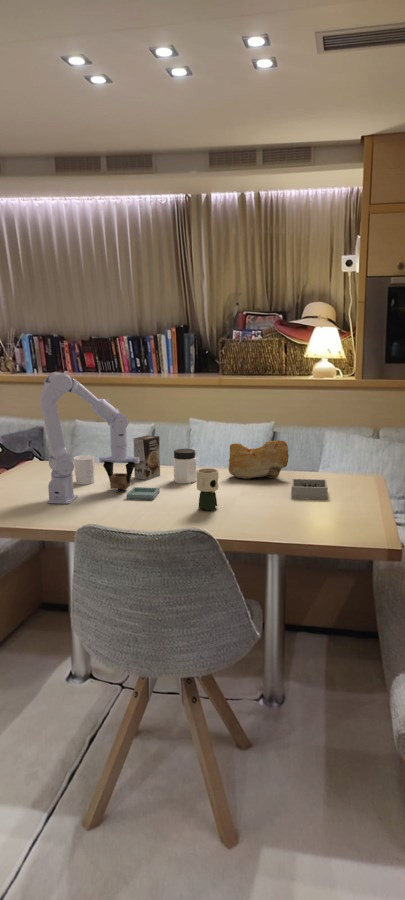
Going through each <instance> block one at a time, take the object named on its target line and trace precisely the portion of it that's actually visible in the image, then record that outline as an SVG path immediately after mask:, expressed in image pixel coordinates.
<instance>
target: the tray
mask: <svg viewBox="0 0 405 900" xmlns="http://www.w3.org/2000/svg"><path fill="white" fill-rule="evenodd" d="M160 493H161V491H160V487H147V486H146V487H143V486H142V487H138V486H136V487H135V486H133V487H132V488H131V489H130V490H129V491H128V492H127V493H126V500H133V501H136V500H137V501H139V500H140V501H154V500H155V499H156V498H157V497H158V496H159V494H160Z"/></svg>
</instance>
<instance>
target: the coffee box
mask: <svg viewBox="0 0 405 900" xmlns="http://www.w3.org/2000/svg"><path fill="white" fill-rule="evenodd" d="M160 447H161V446H160V436H158V435H149V434H147V435H142V436H138V437H135V438H133V457H139V460H140V462H139V463H138V464H135V466H134V469H133V472H134V479H138V480H144V481H148V480H151V479H154V478H156V477H160V476H161V459H160V458H161V457H160V456H161V455H160V451H161V450H160Z"/></svg>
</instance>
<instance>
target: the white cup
mask: <svg viewBox="0 0 405 900" xmlns="http://www.w3.org/2000/svg"><path fill="white" fill-rule="evenodd" d="M73 464H74V472H75V473H74V475H75V481H76V484H77V485H81V486H82V485H83V486H86V485H92V484H94V483H95V456H94V455H88V454H87V455H85V454H84V455H83V454H82V455H78V456H74V457H73Z"/></svg>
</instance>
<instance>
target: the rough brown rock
mask: <svg viewBox="0 0 405 900" xmlns="http://www.w3.org/2000/svg"><path fill="white" fill-rule="evenodd" d="M289 457H290V456H289V446H288V444H287V442H286V441H285V440H269V441H266V442H264V444H263V445H261V446H259V447H256V448H248V447H247V446H245V445H243V444H242V443H231V444H230V445H229V459H228V472H229V475H231V476H234V477H235V478H239V479H251V478H263V477H267V478H269V479H272V478H275V479H277V478H279V476H280V472H281V471H282V469H283V468H286V467H287V465H288V464H289Z"/></svg>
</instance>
